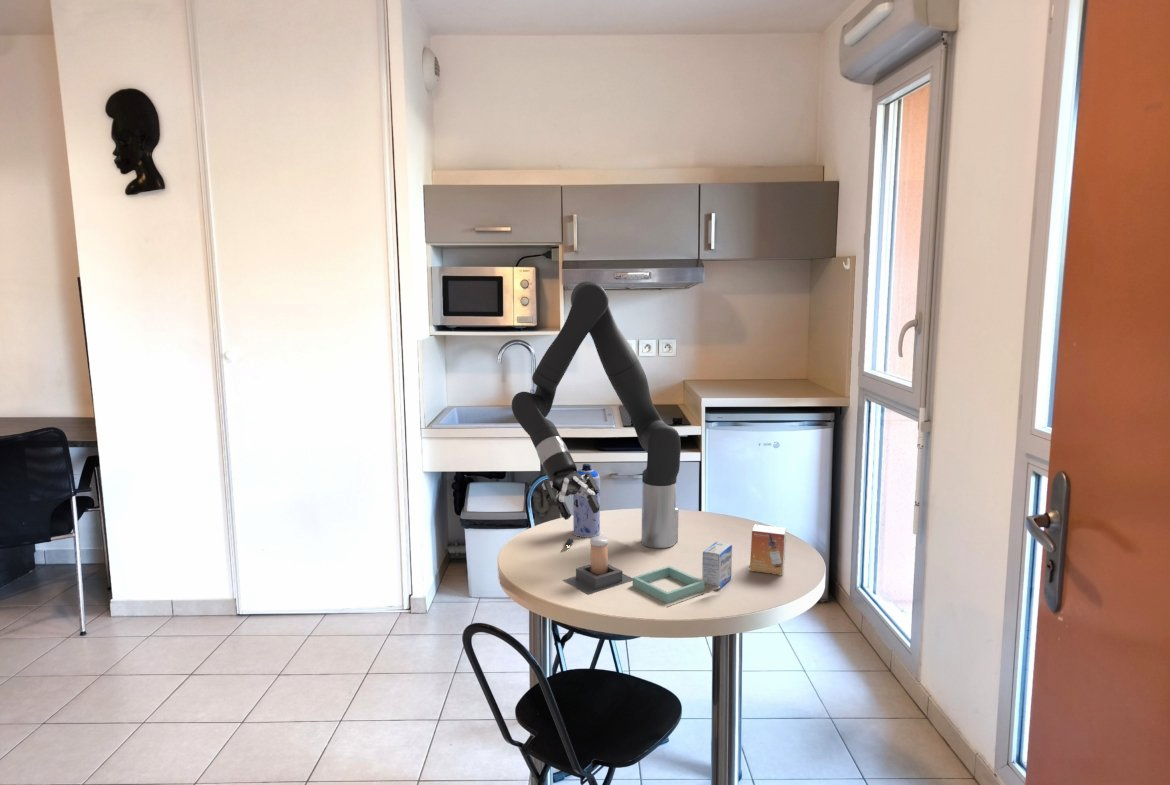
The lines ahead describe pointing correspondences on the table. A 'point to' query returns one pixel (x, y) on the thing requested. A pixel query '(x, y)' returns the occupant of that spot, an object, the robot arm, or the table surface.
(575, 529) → the aerosol can
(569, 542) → the claw hammer
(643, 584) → the parts tray
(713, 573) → the medicine box
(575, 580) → the grey square socket stand
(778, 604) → the table surface
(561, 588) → the table surface
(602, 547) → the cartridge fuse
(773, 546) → the small box
